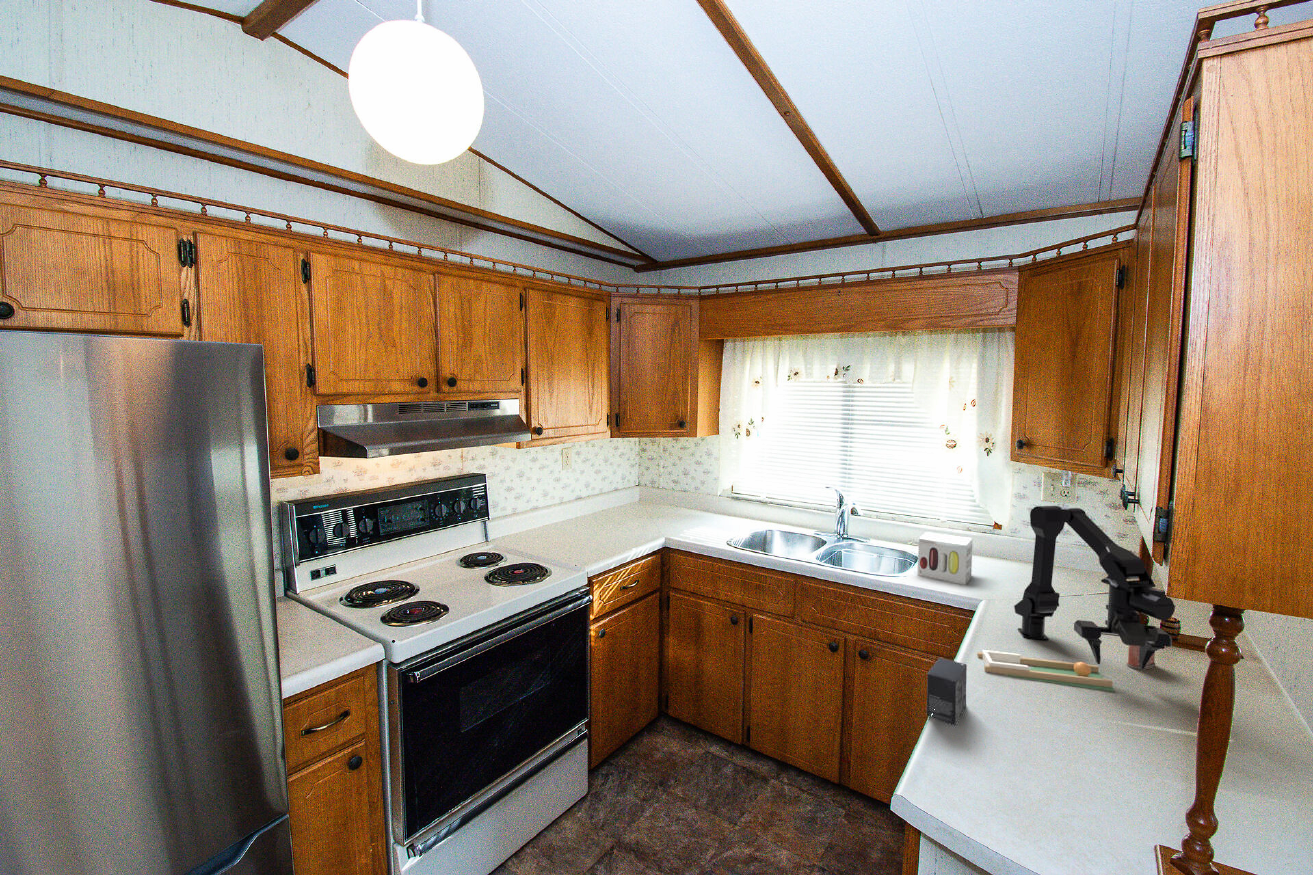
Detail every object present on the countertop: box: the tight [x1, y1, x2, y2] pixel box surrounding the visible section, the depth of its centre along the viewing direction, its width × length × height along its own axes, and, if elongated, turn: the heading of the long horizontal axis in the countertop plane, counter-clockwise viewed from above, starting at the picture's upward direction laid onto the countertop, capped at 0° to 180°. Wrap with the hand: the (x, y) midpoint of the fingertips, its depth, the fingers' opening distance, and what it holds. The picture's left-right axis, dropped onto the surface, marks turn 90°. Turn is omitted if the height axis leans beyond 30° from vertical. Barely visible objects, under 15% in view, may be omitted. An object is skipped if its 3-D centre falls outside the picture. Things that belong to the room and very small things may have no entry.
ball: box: [1074, 661, 1091, 677], centre depth 149 cm, size 4×4×4 cm
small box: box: [926, 657, 968, 726], centre depth 133 cm, size 11×6×10 cm, turn 141°
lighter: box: [1126, 645, 1156, 671], centre depth 156 cm, size 8×3×10 cm, turn 105°
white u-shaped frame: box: [981, 649, 1030, 671], centre depth 154 cm, size 8×9×2 cm
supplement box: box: [917, 531, 974, 586], centre depth 226 cm, size 17×13×18 cm
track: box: [976, 651, 1115, 692], centre depth 152 cm, size 11×28×2 cm, turn 73°
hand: (1119, 665), depth 147 cm, fingers open, 9 cm apart
